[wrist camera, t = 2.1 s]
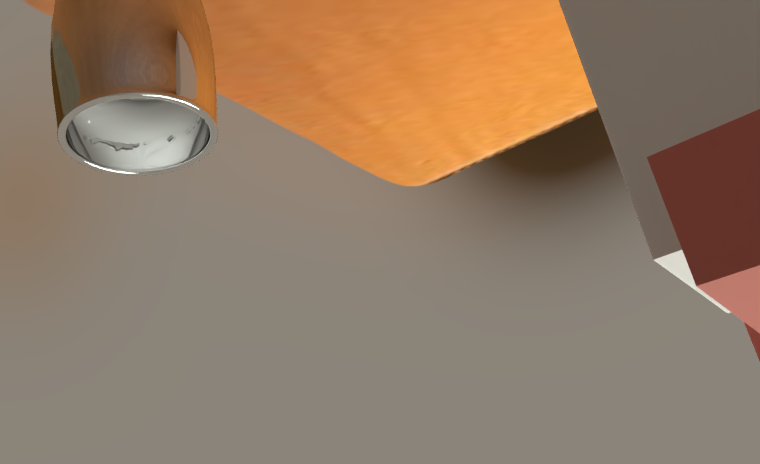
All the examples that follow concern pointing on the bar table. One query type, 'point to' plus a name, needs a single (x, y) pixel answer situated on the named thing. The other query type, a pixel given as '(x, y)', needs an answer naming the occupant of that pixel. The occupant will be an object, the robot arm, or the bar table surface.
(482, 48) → the bar table surface
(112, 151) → the beer glass
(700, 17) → the pedestal
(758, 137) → the red stepped block
